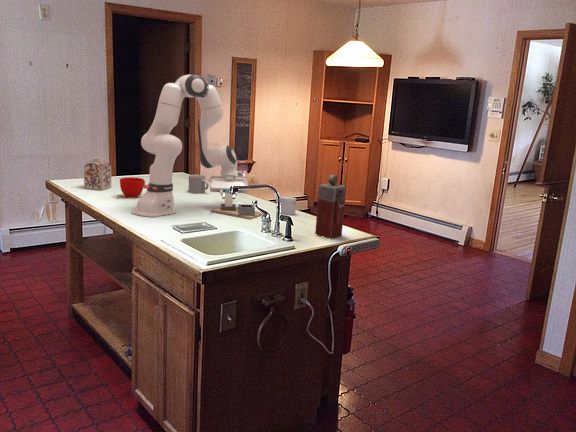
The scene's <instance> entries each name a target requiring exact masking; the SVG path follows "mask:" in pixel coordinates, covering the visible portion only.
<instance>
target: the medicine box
mask: <svg viewBox="0 0 576 432" xmlns="http://www.w3.org/2000/svg"><path fill="white" fill-rule="evenodd" d="M280 202H281V213H284V214H283V215H287V216H288V215H289V216H294V215H295V214H296V207H297V206H296V205H297V197H289V196H281V197H280V198H279V203H280Z"/></svg>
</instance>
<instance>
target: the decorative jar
mask: <svg viewBox="0 0 576 432" xmlns="http://www.w3.org/2000/svg"><path fill="white" fill-rule="evenodd" d="M83 187H84V189H85V190H93V191H105V190H107V189H108V190H109V189H110V188H112V165H111V163H109V161H107V160H103V158H102V157H94V158H93V159H92V160H88V161H86V163H85V165H83Z"/></svg>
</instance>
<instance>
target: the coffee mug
mask: <svg viewBox="0 0 576 432" xmlns="http://www.w3.org/2000/svg"><path fill="white" fill-rule="evenodd" d="M209 188H210V182H209V180H207V179H206V176H205V175H203V174H190V175H188V193H189V194H196V195H197V194H198V195H199V194H205V193H206V191H207V190H208V189H209Z"/></svg>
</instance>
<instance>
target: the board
mask: <svg viewBox="0 0 576 432" xmlns="http://www.w3.org/2000/svg"><path fill="white" fill-rule="evenodd" d="M209 212H210V213H214V214H219V215H224V216H231V217H235V218H239V219H246V220H253V219H255V218H259V217H262V216H261V213H262V212H261V211H256V210H255V216H247V215H239V214H238V207H236V211H221V206H219V207H217V208H214V209H210V211H209ZM260 212H261V213H260Z"/></svg>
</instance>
